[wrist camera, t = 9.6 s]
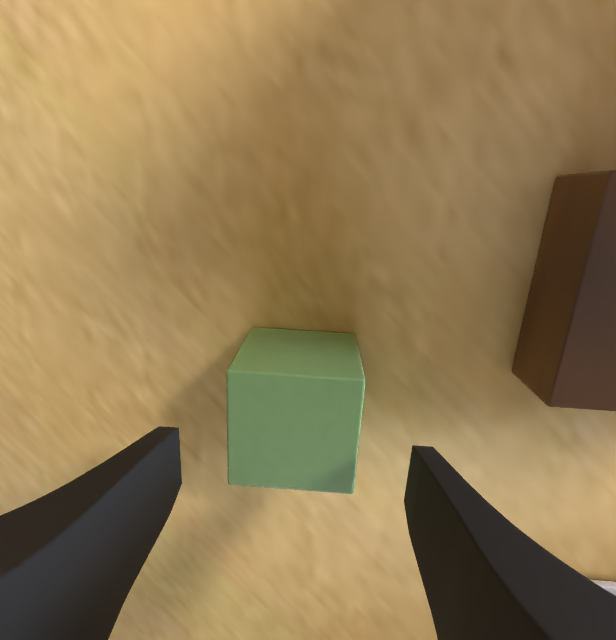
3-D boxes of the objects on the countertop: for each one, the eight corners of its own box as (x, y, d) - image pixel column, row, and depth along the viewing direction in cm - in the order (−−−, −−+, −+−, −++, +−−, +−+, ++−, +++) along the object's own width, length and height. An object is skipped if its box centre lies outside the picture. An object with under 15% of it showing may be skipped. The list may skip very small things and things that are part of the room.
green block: (347, 424, 18) (353, 495, 14) (250, 417, 18) (227, 485, 14) (356, 332, 17) (365, 379, 12) (251, 326, 17) (225, 370, 13)
